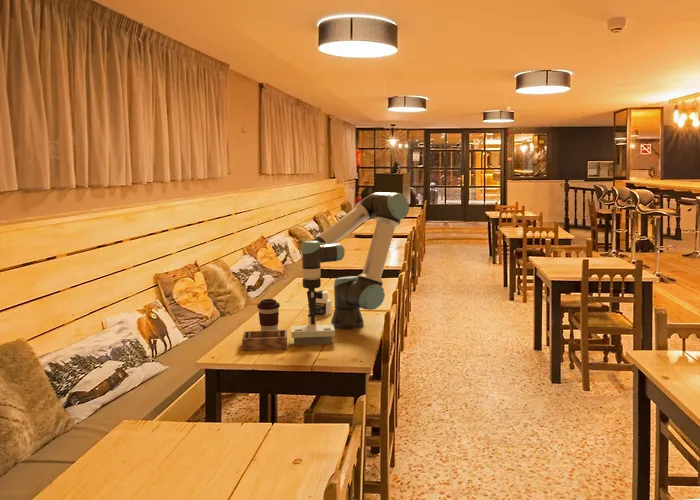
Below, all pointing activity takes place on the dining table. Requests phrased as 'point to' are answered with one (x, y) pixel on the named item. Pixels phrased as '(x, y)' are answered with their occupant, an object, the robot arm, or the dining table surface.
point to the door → (305, 332)
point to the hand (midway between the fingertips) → (312, 327)
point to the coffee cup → (268, 314)
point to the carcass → (264, 340)
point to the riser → (313, 340)
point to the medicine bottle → (323, 304)
